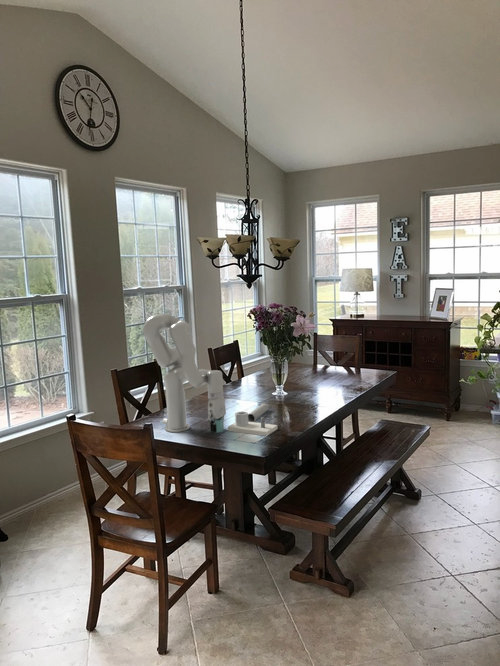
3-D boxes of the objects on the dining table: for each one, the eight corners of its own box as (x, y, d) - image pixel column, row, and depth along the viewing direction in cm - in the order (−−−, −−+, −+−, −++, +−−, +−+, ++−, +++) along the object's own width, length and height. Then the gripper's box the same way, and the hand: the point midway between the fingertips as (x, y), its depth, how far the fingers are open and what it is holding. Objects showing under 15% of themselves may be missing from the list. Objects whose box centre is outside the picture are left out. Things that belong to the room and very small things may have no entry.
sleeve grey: (233, 425, 275) (233, 414, 274) (239, 422, 280) (239, 411, 279) (244, 427, 272) (243, 415, 271) (250, 423, 277) (249, 412, 277)
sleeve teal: (209, 431, 273) (208, 420, 272) (215, 428, 278) (214, 416, 277) (219, 433, 270) (218, 421, 269) (225, 429, 275) (224, 418, 275)
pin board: (227, 430, 274) (227, 417, 273) (239, 424, 284) (238, 411, 283) (266, 436, 263) (266, 422, 262) (277, 429, 274) (276, 415, 273)
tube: (259, 403, 310) (244, 414, 287) (267, 400, 308) (253, 412, 285) (262, 412, 310) (247, 424, 287) (271, 409, 308) (256, 422, 285)
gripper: (212, 399, 262) (214, 435, 265) (230, 391, 277) (232, 425, 280) (199, 398, 266) (201, 433, 268) (218, 390, 281) (219, 424, 283)
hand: (217, 429), depth 274 cm, fingers closed on sleeve teal, 6 cm apart
